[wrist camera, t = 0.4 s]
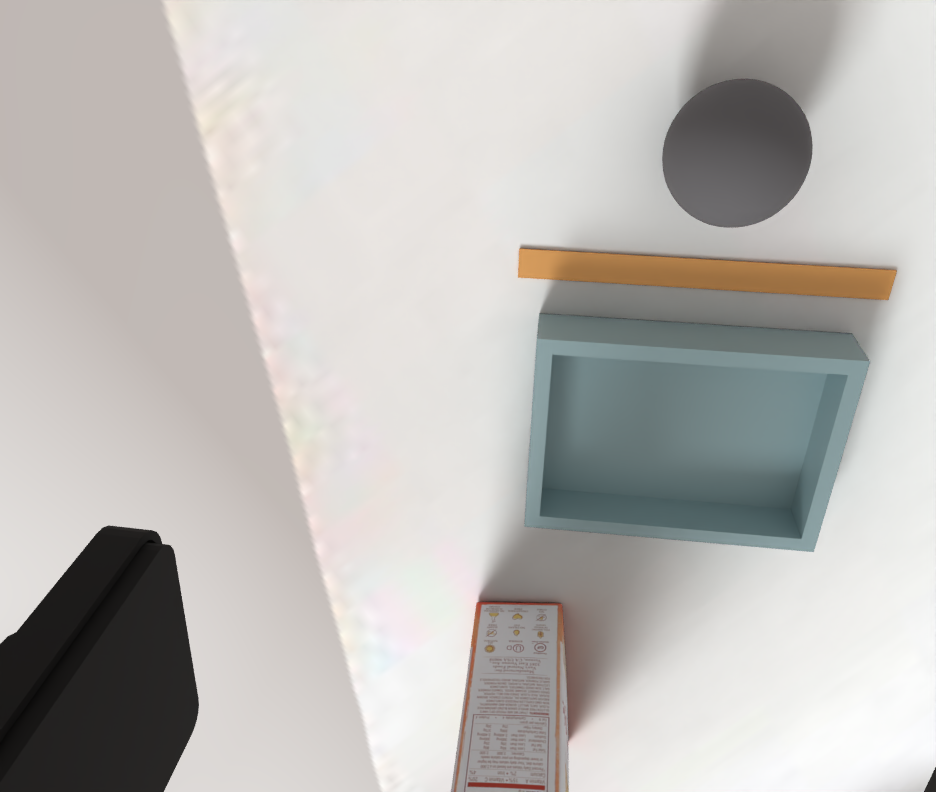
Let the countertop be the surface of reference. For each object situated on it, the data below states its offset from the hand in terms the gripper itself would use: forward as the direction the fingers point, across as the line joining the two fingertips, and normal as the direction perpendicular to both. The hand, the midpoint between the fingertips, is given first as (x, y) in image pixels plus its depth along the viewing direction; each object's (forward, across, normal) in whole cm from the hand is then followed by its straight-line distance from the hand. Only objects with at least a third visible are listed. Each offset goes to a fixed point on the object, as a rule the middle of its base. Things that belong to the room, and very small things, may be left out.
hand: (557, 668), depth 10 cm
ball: (+32, -7, 0) cm, 33 cm away
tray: (+33, -7, +13) cm, 36 cm away
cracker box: (+34, -1, +36) cm, 49 cm away
